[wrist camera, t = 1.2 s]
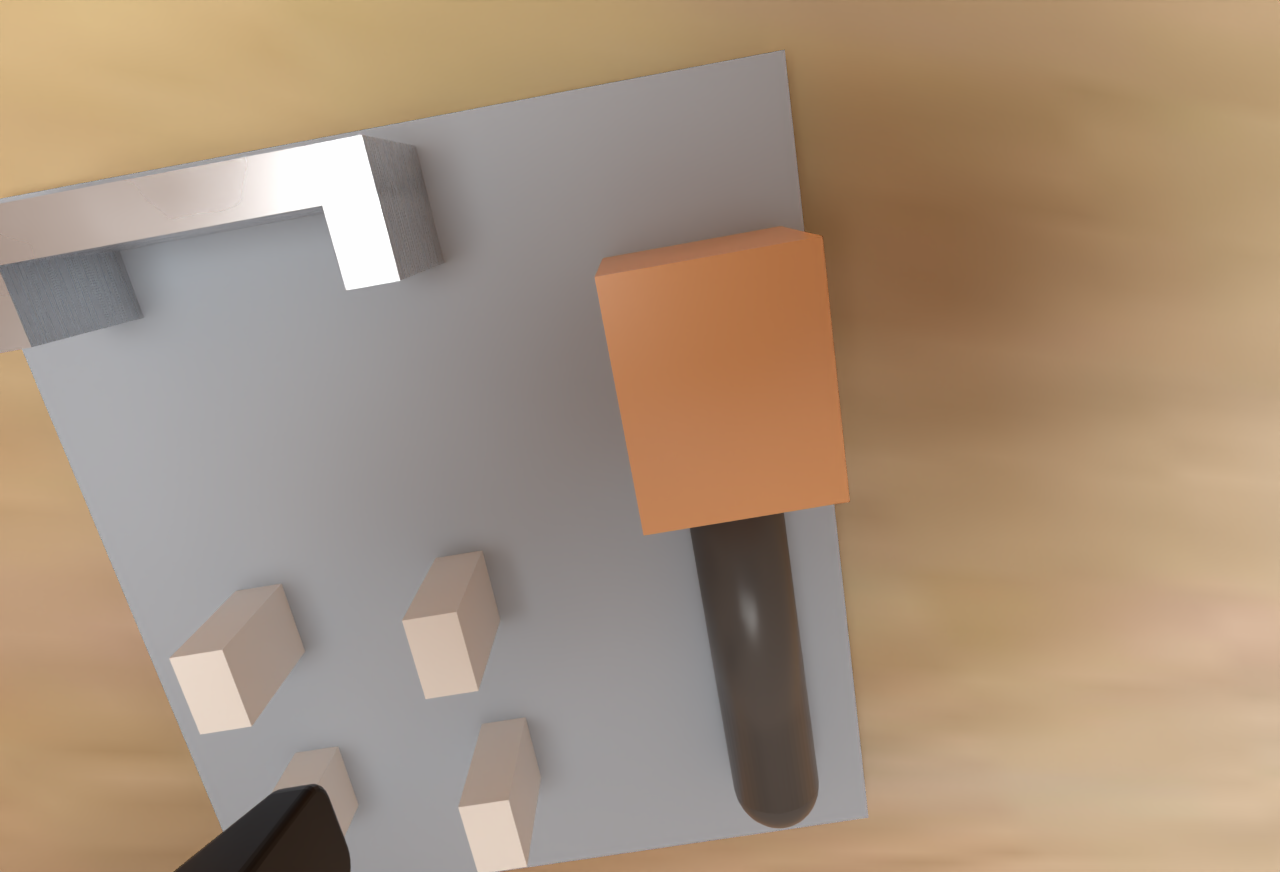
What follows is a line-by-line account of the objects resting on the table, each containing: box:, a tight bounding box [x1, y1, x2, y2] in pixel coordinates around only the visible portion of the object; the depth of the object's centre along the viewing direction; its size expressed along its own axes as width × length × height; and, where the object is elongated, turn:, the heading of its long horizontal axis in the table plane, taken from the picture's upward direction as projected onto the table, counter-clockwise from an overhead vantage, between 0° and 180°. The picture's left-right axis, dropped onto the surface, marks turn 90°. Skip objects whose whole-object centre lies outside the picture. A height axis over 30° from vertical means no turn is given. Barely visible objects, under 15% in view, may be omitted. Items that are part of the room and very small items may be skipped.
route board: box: [0, 50, 868, 872], centre depth 20 cm, size 20×18×1 cm
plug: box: [594, 226, 850, 828], centre depth 18 cm, size 15×4×4 cm, turn 10°
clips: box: [169, 551, 541, 872], centre depth 19 cm, size 7×6×3 cm
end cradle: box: [0, 135, 444, 353], centre depth 16 cm, size 2×8×4 cm, turn 100°
